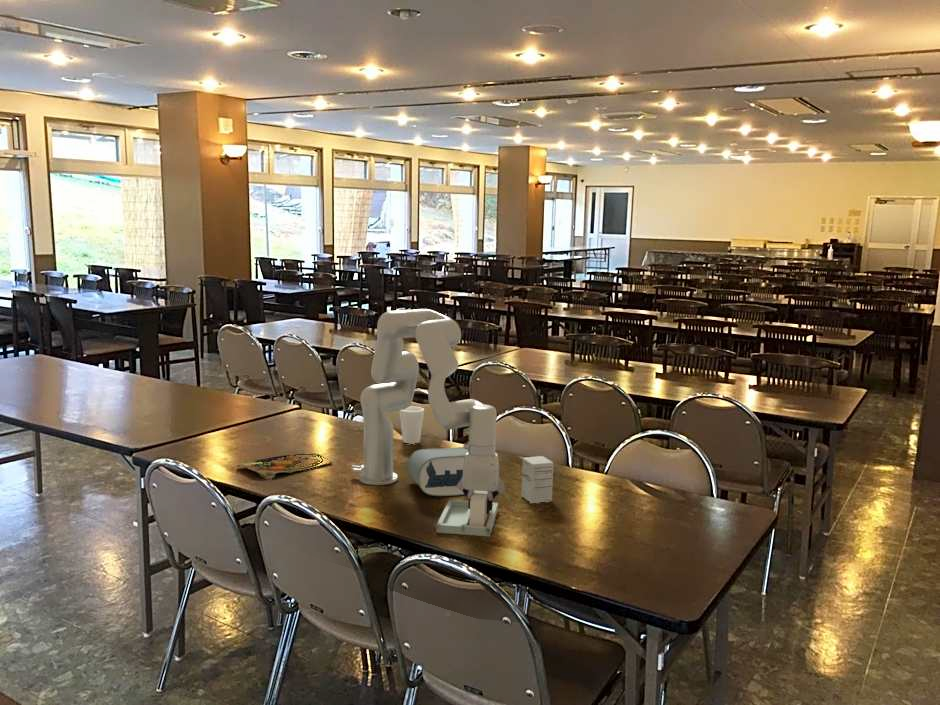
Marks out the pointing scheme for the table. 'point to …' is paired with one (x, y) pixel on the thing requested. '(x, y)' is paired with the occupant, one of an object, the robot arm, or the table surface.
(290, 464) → the prepared meal
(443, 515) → the divided serving tray
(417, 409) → the foam cup
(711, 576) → the table surface
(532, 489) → the stacked block tower
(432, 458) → the pencil case
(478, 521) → the upright beige block
